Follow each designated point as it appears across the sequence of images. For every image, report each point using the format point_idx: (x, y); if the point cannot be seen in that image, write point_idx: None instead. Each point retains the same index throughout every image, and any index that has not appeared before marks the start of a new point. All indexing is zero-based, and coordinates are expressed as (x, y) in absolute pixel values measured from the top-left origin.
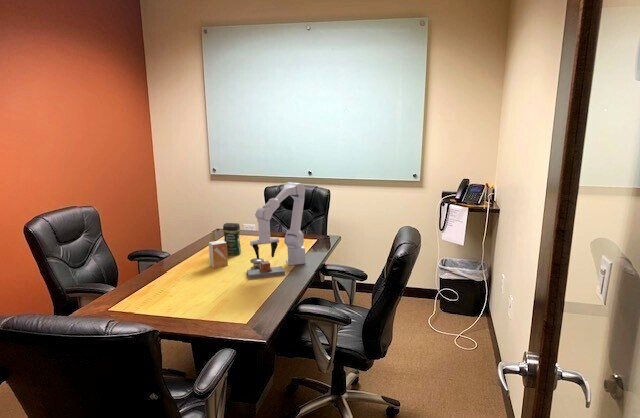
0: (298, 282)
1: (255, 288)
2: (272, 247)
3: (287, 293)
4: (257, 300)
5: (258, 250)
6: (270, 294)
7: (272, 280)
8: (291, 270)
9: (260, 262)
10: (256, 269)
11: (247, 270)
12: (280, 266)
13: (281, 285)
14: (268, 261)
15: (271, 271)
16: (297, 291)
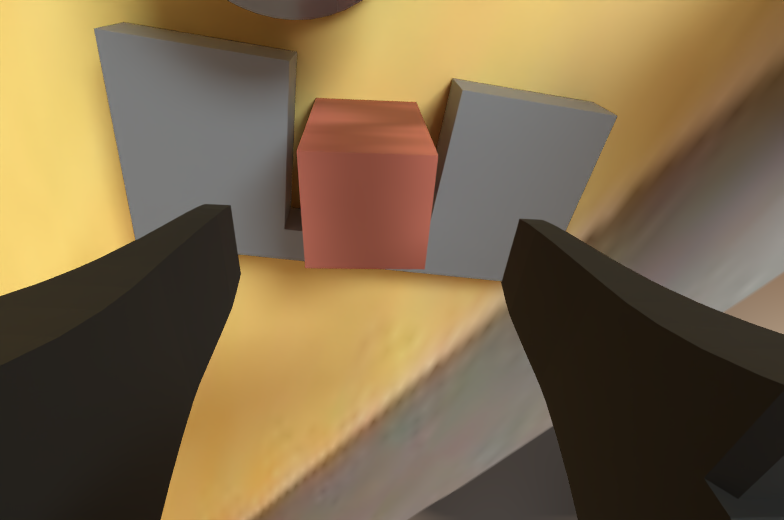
0: (523, 412)
1: (206, 407)
2: (596, 448)
3: (383, 496)
4: (205, 515)
5: (165, 477)
6: (289, 486)
7: (370, 329)
8: (663, 170)
9: (297, 150)
10: (249, 87)
11: (105, 66)
12: (597, 120)
13: (397, 417)
14: (434, 184)
15: (437, 166)
16: (443, 492)
